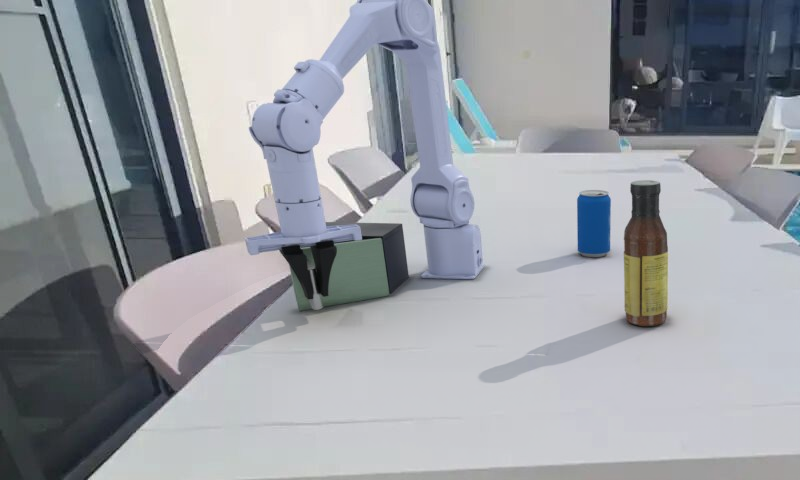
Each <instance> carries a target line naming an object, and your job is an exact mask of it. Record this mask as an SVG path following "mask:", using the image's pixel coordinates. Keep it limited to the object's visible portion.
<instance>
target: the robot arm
mask: <svg viewBox="0 0 800 480" xmlns="http://www.w3.org/2000/svg"><path fill="white" fill-rule="evenodd" d="M375 45H378V46H380V47H382V48H384V49H386V50H388V51H390V52H392V53H393V54H394V55H395V56H397V58H399V60H401V61H402V62H403V63H404V64H405V70H406V75H407V84H408V89H409V90H408V91H409V98H410V105H411V112H412V118H413V125H414V134H415V141H416V148H417V149H416V150H417V154H418V155H417V156H418V161H419V168H418V169H417V170H416V171H415V172H414V174H413V175H412V176H411V178H410V180H411V193H410V201H409V202H410V207H411V210H412V213H413V214H414V215H415V216H416V217H417V218H418V219H419V224H422V225H423V233H424V243H425V251H426V262H427V269H426V270H425V271H424V272H423V273H422V274H421V275H420V278H422V279H446V280H474V279H476V278H477V276H478V275H479V274H480V273H481V271H482V270H483V269H484V267H485V264H484V262H483V261H484V260H483V247H482V245H483V244H482V235H481V234H482V233H481V229H480V226H479V225H478V224H473V223H470V220H471V218H472V216H473V214H474V211H475V198H474V194H473V193H472V191H471V188H470V184H469V178H468V176H467V175H465V174H464V173H463V172H462V171H461V170H460V169H459V168H458V167H457V166H455V164H454V160H453V150H452V141H451V133H450V125H449V118H448V117H449V116H448V107H447V99H446V91H445V81H444V74H443V73H444V72H443V65H442V64H443V63H442V56H441V49H440V45H439V42H438V35H437V26H436V19H435V10H434V8H433V6H431V4H430V3H429V2H428V1H427V0H357V1H356V2H355V3H354V4H352V5H351V6H350V7H349V16H348V18H347V20H345V22H344V24H343V25H342V27H341V28H340V29H339V31H338V33H336V35H335V37H334V38H333V40H332V41H331V43H330V44H329V46H328V47H327V49H326V50H325V51H324V53H323V54H322V55H321V57H320V58H319V60H318V59H313V58H312V59H306V60H305V61H298V62H297V63H296V64H295V65H294V66H293V70H294V71H295V73H294V74H292V76H291V77H290V79H288V80H287V82H286V83H285V85H284V86H283V87H282V88H281V89H280V88H279V89H277V90H275V92H274V93H273V97H274V98H273V100H272V102H266V103H262V104H261V105H259V106H258V107H257V108H256V109H255V111H254V113H253V114H252V119H251V126H248V131H249V134H250V136H251V138H252V139H253V141H254V142H255V143H256V144H257V145H258V146H259V147H260V149H261V151H262V155H263V159H264V160H266V165H267V169H268V174H269V180H270V183H271V184H270V185H271V189H272V193H273V199H274V204H275V209H276V213H277V218H278V223H279V224H278V225H279V228H280V231H276V232H271V233H266V234H262V235H257V236H251V237H245V238H244V241H245V246H246V250H247V253H248V254H249V255H250V256H256V255H260V254H262V253H269V252H276V251H279V253H280V254H281V256H282V257H283V258H284V259H285V261H286V262H287V263H288V266H289V265H290V266H291V268H292V269H293V271H294V273H295V274H296V276H297V278H298V280H299V282H300V284H301V286H302V289H303V291H304V294H305V297H306V298H307V299H314V298H313V291H312V287H311V284H310V280H309V275H308V267H307V256H306V255H305V254H304V253H303V250H302V249H301V247H305V246H310V248H311V252H312V255H313V259H314V263H315V267H316V273H317V279H318V284H319V289H320V294H321V295H322V296H323V297H326V296H329V295H328V287H329V278H330V272H331V268H332V265H333V262H334V259H335V257H336V254H337V247H336V246H335V245H334V242H341V241H349V240H354V241H357V240H362V235H361V229H360V226H358V225H356V224H353V225H340V226H326V222H327V221H326V216H325V212H324V206H323V199H322V194H321V190H320V189H321V188H320V182H319V177H318V170H317V165H316V160H315V155H314V150H313V149H314V147H315V146H317V145H318V144H319V142H320V140H321V133H322V132H321V126H322V124H323V123H324V120H325V119H326V117H327V116H328V114H329V113H330V112H331V110H332V109H333V108H334V107H335V106H336V104H337V103H338V102H339V100H340V99H341V98H342V97H343V95H344V93H345V85H344V81H343V80H344V78H345V77H346V76H347V75H348V74H349V73H350V72H351V71H352V69H353V68H354V67H355V66H356V65H357V64H358V63H359V62H360V61H361V60H362V59H363V58H364V57H365V55H366V54H367V53H368V52H369V51H370V50H372V48H373V47H374V46H375Z"/></svg>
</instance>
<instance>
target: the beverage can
mask: <svg viewBox="0 0 800 480" xmlns="http://www.w3.org/2000/svg"><path fill="white" fill-rule="evenodd" d="M609 195H610V194H609V191H606V190H603V189H588V190H587V189H584V190H581V191H579V194H578V196H577V198H576V203H577V206H576V208H577V209H576V213H577V214H576V219H577V220H576V224H577V228H576V229H577V233H576V234H577V251H578V252H579V254H581V255H582V256H583V257H586V258H601V257H604V256H606V255H607V254H608V253H610V252H611V221H612V219H611V217H612V216H611V215H612V214H611V213H612V210H611V209H612V198H611V197H610V196H609Z"/></svg>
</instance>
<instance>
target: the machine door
mask: <svg viewBox="0 0 800 480" xmlns="http://www.w3.org/2000/svg"><path fill="white" fill-rule="evenodd" d="M334 245H335V246H336V247H337V254H336V257H335V259H334V262H333V265H332V268H331V272H330V278H329V287H328V295H329V296H326V297H323V296H322V295H321V294H320V289H319V284H318V279H317V273H316V267H315V263H314V259H313V255H312V252H311V248H310V247H303V248H301V247H300V248H301V249H302V250H303V253H304V254H305V255H306V256H307V267H308V275H309V280H310V284H311V287H312V291H313V298H314V299H307V298H306V297H305V294H304V291H303V289H302V286H301V284H300V282H299V280H298V278H297V276H296V274H295V273H294V271H293V269H292V268H291V266H290V265H289V264H288V267H289V273H290V276H291V277H290V278H291V281H292V286H293V291H294V296H295V301H296V307H297V310H298V311H299V312H302V311H308V310H314V311H315V310H316V311H318V310H321V309H323V308H326V307H331V306H338V305H343V304H348V303H354V302H355V303H356V302H360V301H366V300H374V299H378V298H385V297H390V295H391V294H389V287H388V280H387V273H386V266H385V259H384V252H383V244H382V239H381V238H375V239H367V240H359V241H351V242H343V243H335V244H334Z"/></svg>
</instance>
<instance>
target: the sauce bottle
mask: <svg viewBox="0 0 800 480" xmlns="http://www.w3.org/2000/svg"><path fill="white" fill-rule="evenodd" d="M629 188H630V190H629V191H630V194H631V217H630V219H629V221H628V223H627V224H626V226H625V228H624V233H623V245H624V247H623V248H624V249H623V281H624V282H623V283H624V285H623V286H624V288H623V289H624V290H623V291H624V293H623V294H624V297H623V298H624V312H625V318H626V320H627V322H628V323H629V324H631V325H635V326H639V327H655V326H659V325H662V324H663V323H665V322H666V321H667V315H668V305H669V304H668V299H669V297H668V296H669V294H668V293H669V292H668V290H669V289H668V287H669V283H668V281H669V280H668V279H669V275H668V274H669V245H668V233H667V230H666V228H665V226H664V224H663V223H664V222H663V221H662V218H661V216H660V213H661V211H660V195H661V191H662V190H661V188H662V187H661V182H660V181H657V180H652V179H642V180H641V179H640V180H635V181H631V182H630V187H629Z"/></svg>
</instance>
